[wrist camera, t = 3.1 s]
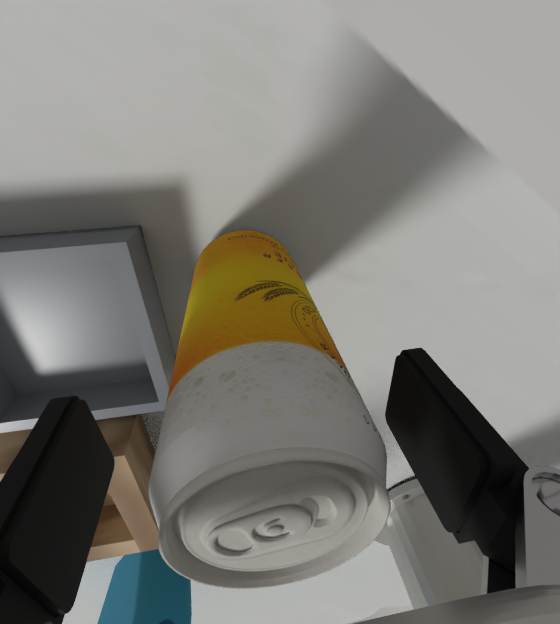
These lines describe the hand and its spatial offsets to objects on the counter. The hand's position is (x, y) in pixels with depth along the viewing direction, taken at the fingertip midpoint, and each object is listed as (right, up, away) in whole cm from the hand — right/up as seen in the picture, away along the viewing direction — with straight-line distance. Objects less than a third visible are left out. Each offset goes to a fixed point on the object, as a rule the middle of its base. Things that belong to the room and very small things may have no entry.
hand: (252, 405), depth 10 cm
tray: (-12, +2, +10) cm, 16 cm away
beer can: (-1, +5, +10) cm, 12 cm away
